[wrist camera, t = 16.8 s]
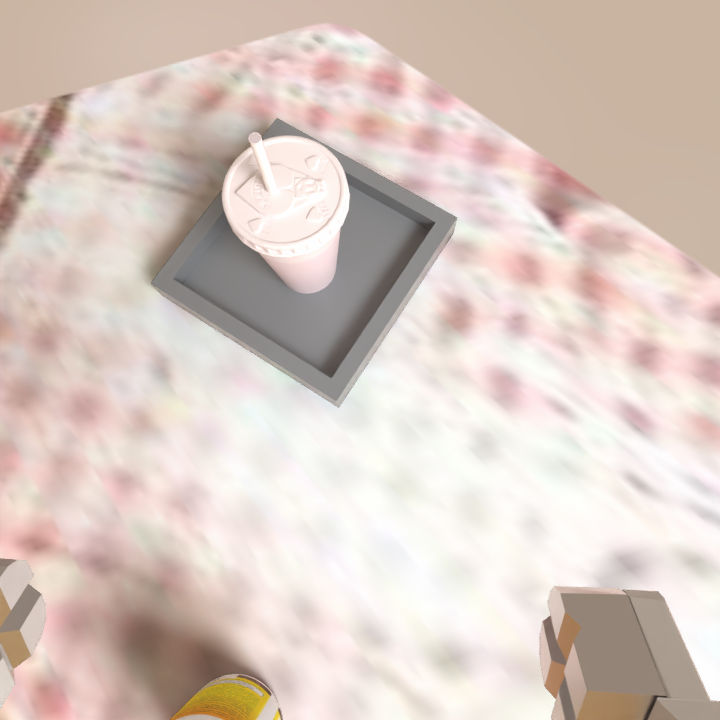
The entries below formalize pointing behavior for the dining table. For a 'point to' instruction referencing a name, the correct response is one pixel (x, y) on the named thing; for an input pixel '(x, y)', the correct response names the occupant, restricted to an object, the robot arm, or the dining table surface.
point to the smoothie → (289, 207)
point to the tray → (320, 309)
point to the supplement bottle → (232, 701)
